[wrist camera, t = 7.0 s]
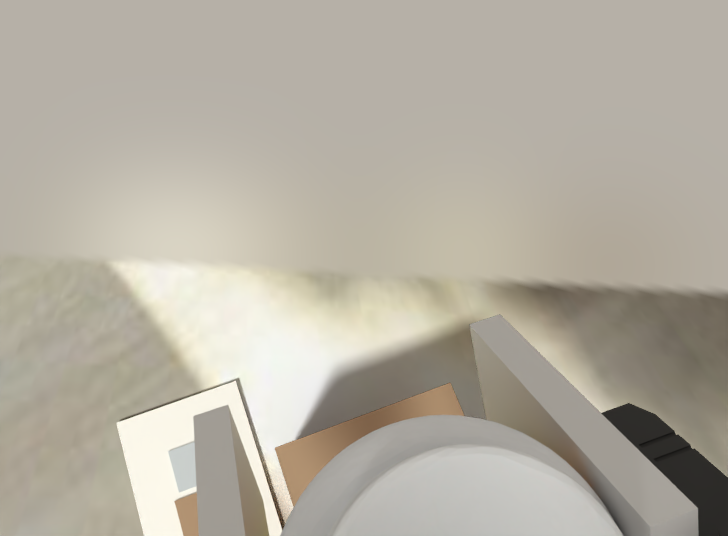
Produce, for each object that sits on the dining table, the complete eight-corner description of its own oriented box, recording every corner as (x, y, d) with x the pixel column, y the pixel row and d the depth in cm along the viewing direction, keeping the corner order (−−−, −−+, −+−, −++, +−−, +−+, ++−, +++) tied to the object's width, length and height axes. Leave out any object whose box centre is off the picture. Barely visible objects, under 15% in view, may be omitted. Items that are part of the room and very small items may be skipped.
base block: (339, 634, 31) (339, 651, 26) (283, 460, 33) (274, 448, 29) (501, 565, 32) (529, 569, 27) (434, 403, 35) (450, 382, 30)
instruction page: (164, 615, 31) (163, 616, 30) (117, 423, 34) (115, 422, 33) (293, 563, 32) (292, 563, 31) (236, 381, 35) (235, 380, 34)
